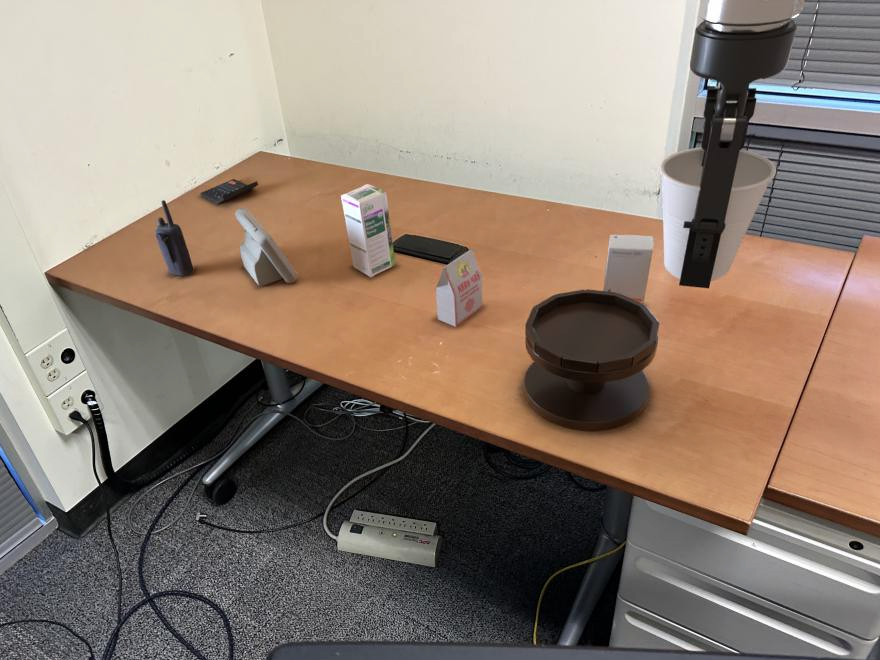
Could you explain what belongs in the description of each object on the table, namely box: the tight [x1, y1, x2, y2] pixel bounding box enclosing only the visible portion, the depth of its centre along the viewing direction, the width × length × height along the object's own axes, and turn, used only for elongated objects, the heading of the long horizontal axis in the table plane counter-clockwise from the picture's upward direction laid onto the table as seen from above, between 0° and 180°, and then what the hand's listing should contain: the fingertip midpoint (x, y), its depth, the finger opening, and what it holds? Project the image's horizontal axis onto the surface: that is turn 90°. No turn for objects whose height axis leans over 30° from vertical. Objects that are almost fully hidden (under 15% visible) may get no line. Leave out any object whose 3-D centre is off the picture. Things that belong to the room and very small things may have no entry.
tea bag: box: [435, 249, 483, 328], centre depth 107 cm, size 4×7×10 cm, turn 134°
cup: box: [659, 147, 777, 282], centre depth 68 cm, size 10×10×11 cm
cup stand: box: [523, 288, 660, 432], centre depth 89 cm, size 16×16×11 cm
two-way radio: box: [154, 199, 195, 277], centre depth 128 cm, size 6×4×15 cm
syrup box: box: [340, 183, 396, 278], centre depth 121 cm, size 6×6×14 cm
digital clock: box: [234, 207, 298, 287], centre depth 126 cm, size 16×9×11 cm, turn 14°
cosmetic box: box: [602, 234, 655, 305], centre depth 102 cm, size 6×4×12 cm
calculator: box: [199, 178, 259, 205], centre depth 159 cm, size 9×12×3 cm
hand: (696, 262), depth 71 cm, fingers closed on cup, 8 cm apart
